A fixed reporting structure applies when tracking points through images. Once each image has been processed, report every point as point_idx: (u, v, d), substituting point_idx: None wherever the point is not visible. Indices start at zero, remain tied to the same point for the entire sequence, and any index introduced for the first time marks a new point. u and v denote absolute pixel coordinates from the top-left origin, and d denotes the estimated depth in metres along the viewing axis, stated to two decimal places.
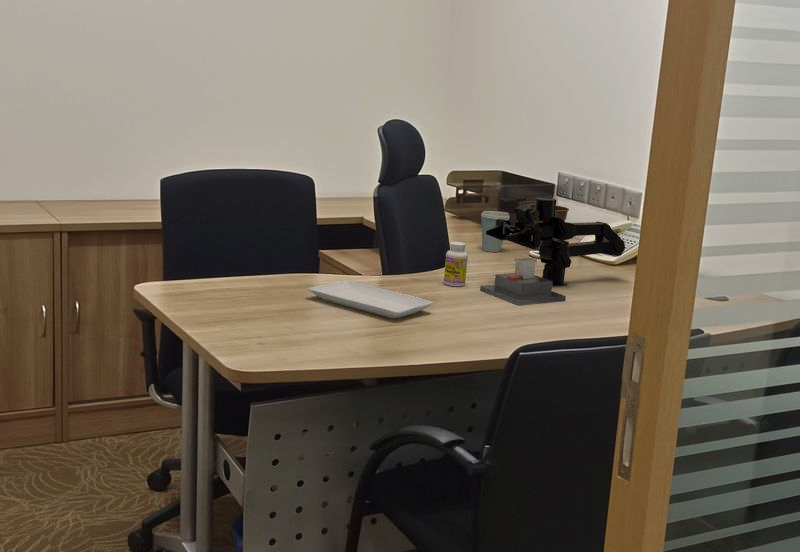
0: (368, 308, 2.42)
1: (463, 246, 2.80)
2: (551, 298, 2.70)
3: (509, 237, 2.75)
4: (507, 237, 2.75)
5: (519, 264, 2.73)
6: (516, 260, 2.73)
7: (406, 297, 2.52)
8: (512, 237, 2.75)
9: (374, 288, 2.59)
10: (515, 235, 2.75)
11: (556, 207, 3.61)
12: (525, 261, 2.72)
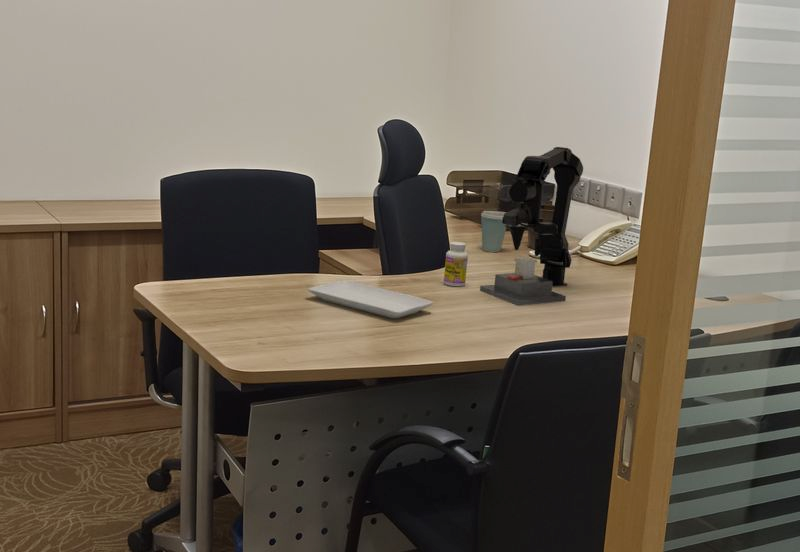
0: (368, 308, 2.42)
1: (463, 246, 2.80)
2: (551, 298, 2.70)
3: (537, 252, 2.69)
4: (537, 253, 2.69)
5: (519, 264, 2.73)
6: (516, 260, 2.73)
7: (406, 297, 2.53)
8: (538, 249, 2.68)
9: (374, 288, 2.59)
10: (538, 246, 2.68)
11: None
12: (525, 261, 2.72)
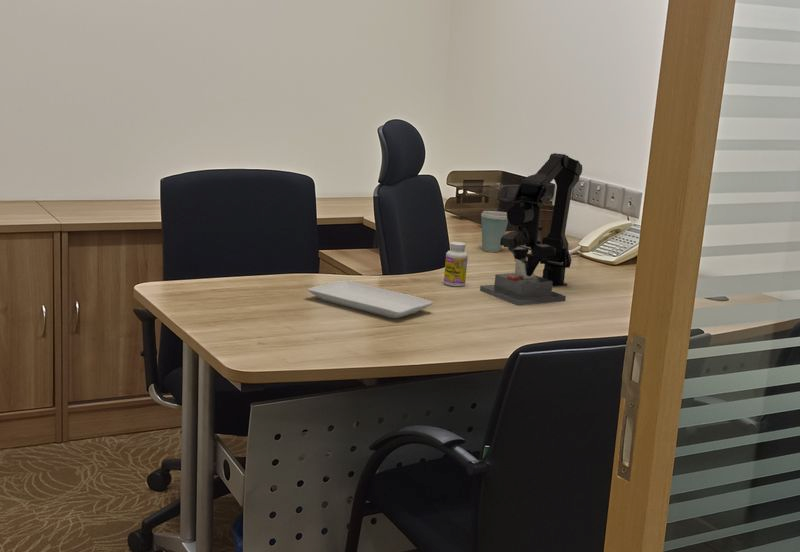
0: (369, 308, 2.42)
1: (463, 246, 2.80)
2: (551, 298, 2.70)
3: (530, 272, 2.72)
4: (529, 273, 2.73)
5: (519, 264, 2.73)
6: (516, 260, 2.73)
7: (406, 297, 2.53)
8: (531, 269, 2.72)
9: (373, 288, 2.59)
10: (530, 267, 2.71)
11: None
12: (525, 261, 2.72)
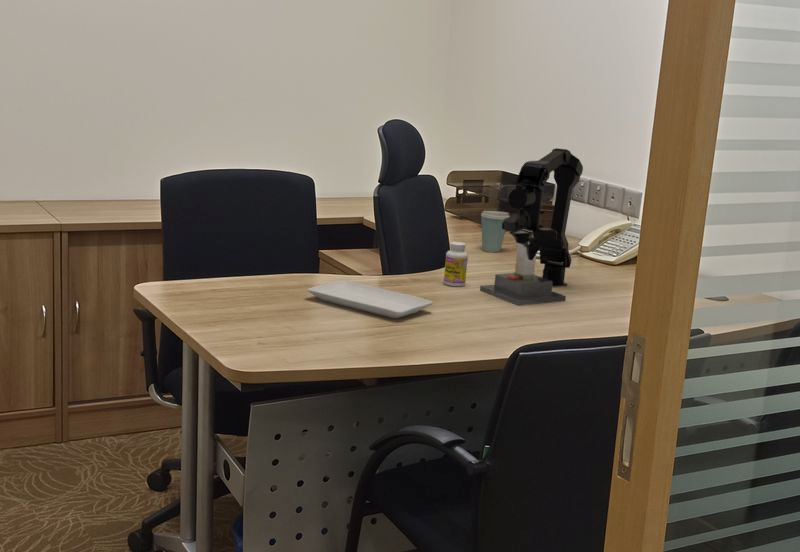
0: (369, 308, 2.42)
1: (463, 246, 2.80)
2: (551, 298, 2.70)
3: (532, 256, 2.71)
4: (531, 257, 2.71)
5: (521, 248, 2.72)
6: (518, 244, 2.72)
7: (405, 297, 2.53)
8: (532, 253, 2.71)
9: (372, 288, 2.59)
10: (532, 251, 2.70)
11: None
12: (527, 245, 2.71)
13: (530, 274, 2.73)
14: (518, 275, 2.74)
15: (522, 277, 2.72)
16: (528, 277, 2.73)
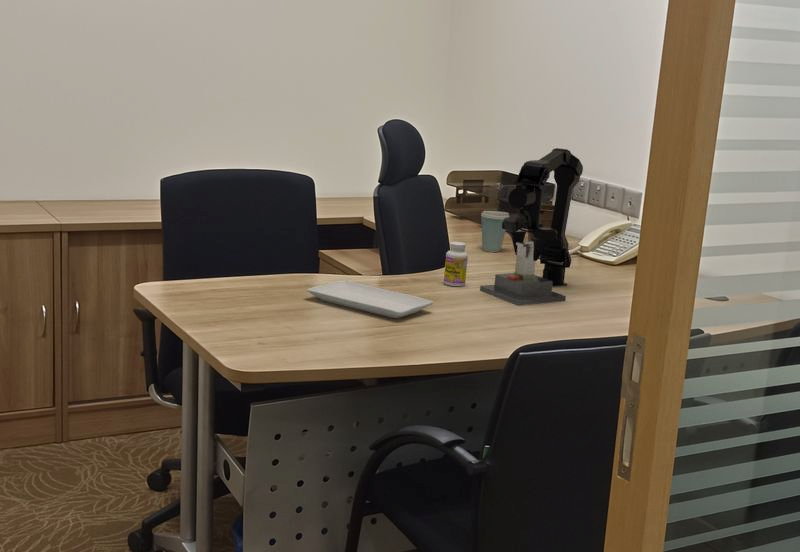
0: (369, 308, 2.41)
1: (463, 246, 2.80)
2: (551, 298, 2.70)
3: (536, 257, 2.69)
4: (535, 258, 2.70)
5: (521, 248, 2.72)
6: (518, 244, 2.72)
7: (405, 297, 2.53)
8: (537, 253, 2.69)
9: (372, 288, 2.59)
10: (536, 251, 2.68)
11: None
12: (527, 245, 2.71)
13: (530, 274, 2.73)
14: (518, 275, 2.74)
15: (522, 277, 2.72)
16: (528, 277, 2.73)
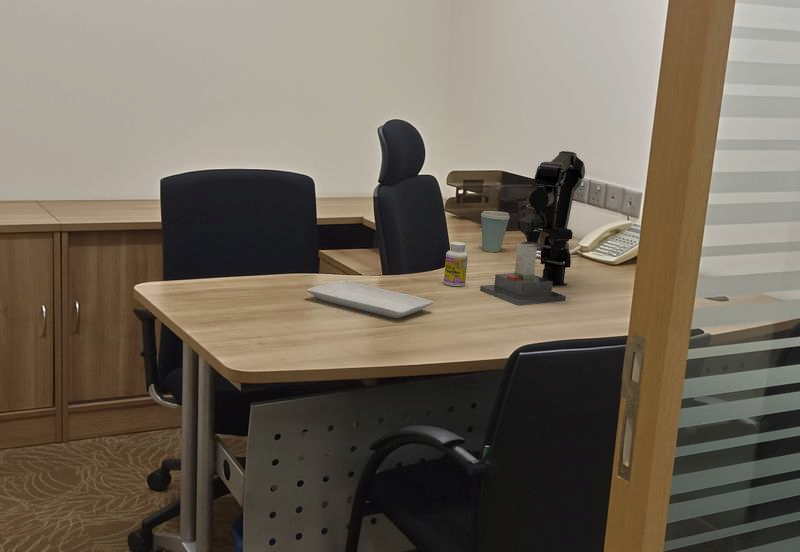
0: (370, 308, 2.41)
1: (463, 246, 2.80)
2: (551, 298, 2.70)
3: (553, 257, 2.73)
4: (552, 258, 2.73)
5: (521, 248, 2.72)
6: (518, 244, 2.72)
7: (405, 296, 2.53)
8: (553, 254, 2.72)
9: (371, 288, 2.59)
10: (553, 252, 2.71)
11: None
12: (527, 245, 2.71)
13: (530, 274, 2.73)
14: (518, 275, 2.74)
15: (522, 277, 2.72)
16: (528, 277, 2.73)
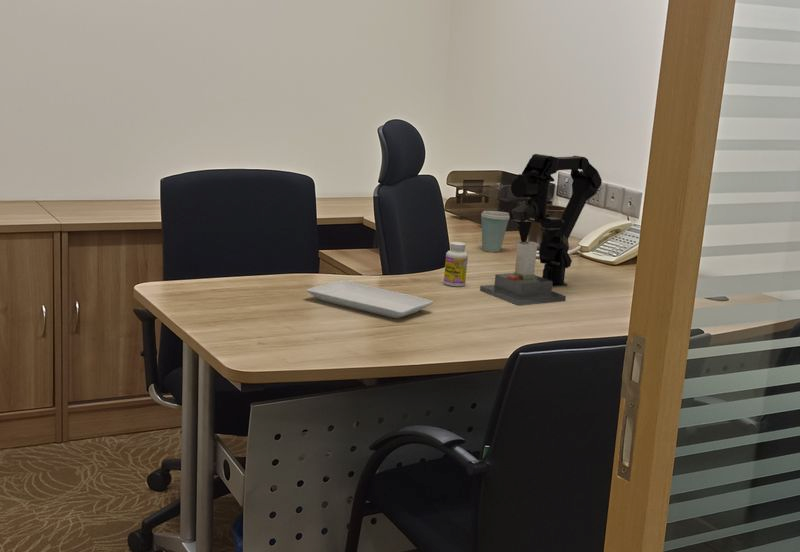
0: (370, 308, 2.41)
1: (463, 246, 2.80)
2: (551, 298, 2.70)
3: (544, 246, 2.80)
4: (544, 247, 2.80)
5: (521, 248, 2.72)
6: (518, 244, 2.72)
7: (405, 296, 2.53)
8: (545, 243, 2.79)
9: (371, 288, 2.59)
10: (545, 241, 2.79)
11: (556, 207, 3.61)
12: (527, 245, 2.71)
13: (530, 274, 2.73)
14: (518, 275, 2.74)
15: (522, 277, 2.72)
16: (528, 277, 2.73)
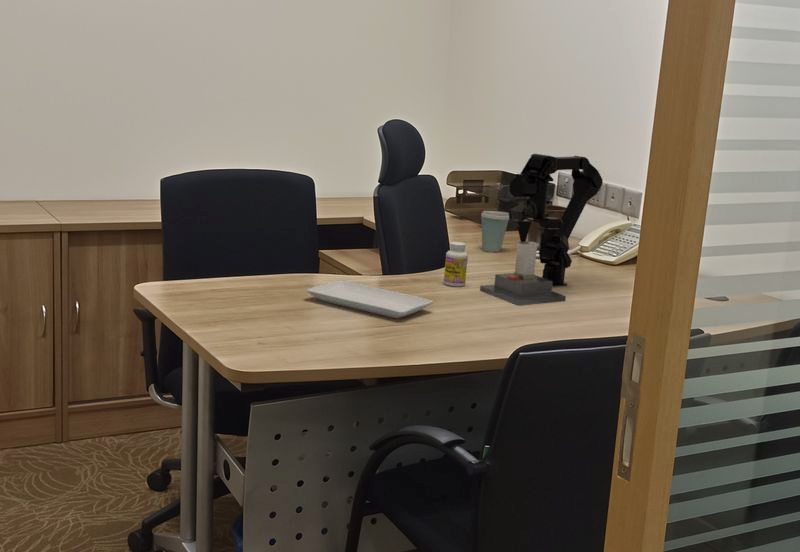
0: (370, 308, 2.41)
1: (463, 246, 2.80)
2: (551, 298, 2.70)
3: (543, 246, 2.80)
4: (542, 247, 2.80)
5: (521, 248, 2.72)
6: (518, 244, 2.72)
7: (405, 296, 2.53)
8: (544, 242, 2.80)
9: (371, 288, 2.59)
10: (543, 240, 2.79)
11: (556, 207, 3.61)
12: (527, 245, 2.71)
13: (530, 274, 2.73)
14: (518, 275, 2.74)
15: (522, 277, 2.72)
16: (528, 277, 2.73)
